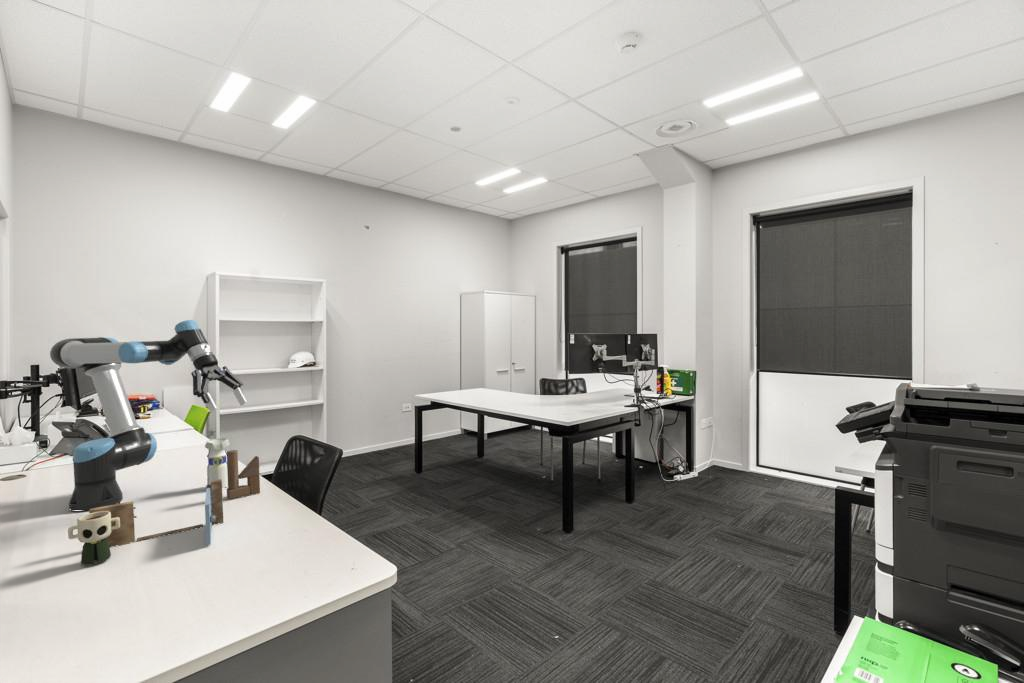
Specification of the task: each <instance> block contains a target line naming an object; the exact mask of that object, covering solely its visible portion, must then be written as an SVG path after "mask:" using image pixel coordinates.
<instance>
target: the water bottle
mask: <svg viewBox="0 0 1024 683" xmlns="http://www.w3.org/2000/svg"><path fill="white" fill-rule="evenodd" d="M216 432H217V430H213V428H211V429H210V430H208V431H206V433H208V437H209V438H210V437H211V436H212V437H215V433H216ZM229 446H230V441H229V439H228V438H227V437H221V438H220V437H219V438H218V437H217V438H212V439H209V440H206V443H205V445H204V448H205V449H206V450H207V449H208V453H207V455H206V457H207V461H208V462H207V463H208V464H207V466H206V468H207V470H206V472H207V479H206V480H207V484H206V485H211V481H213V480H219V479H221V480H222V488H225V487H227V488H228V474H227V451H226V448H227V447H229ZM225 489H226V488H225Z"/></svg>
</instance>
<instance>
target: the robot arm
mask: <svg viewBox="0 0 1024 683" xmlns="http://www.w3.org/2000/svg"><path fill="white" fill-rule="evenodd" d="M174 331H175V333H176V334H175V335H174V336H172V337H171V338H170V339H169V340H153V341H150V340H149V341H148V340H147V341H118V340H117V339H115V338H111V337H104V336H102V337H99V336H98V337H83V338H80V337H79V338H77V337H75V338H66V339H63V340H62V339H61V340H60V341H58V342H56V343H55V344H54V345H53V346H52V347H51V348H50V352H49V357H50V359H51V361H52V362H53V363H54V364H55V365H56V366H59V367H60V368H65V369H82V370H83V371H84V375H85V376H88V377H91V379H92V383H93V386H94V389H95V391H96V393H97V397H98V400H99V403H100V405H101V408H102V411H103V414H104V417H105V420H106V424H107V425H108V428H109V431H110V434H109V436H108V437H104V438H102V437H101V438H98V439H91V440H89V441H86V442H82V443H80V444H77V446H75V448H74V449H73V454H72V455H73V456H72V463H73V480H74V488H73V491H72V494H71V497H70V499H69V502H68V509H69V508H70V509H71V510H90V509H92V508H98V507H103V506H109V505H113V504H116V503H117V504H118V502H120V503H121V502H122V501H123V500H122V499H124V497H123V491H122V490H121V488H120V486H119V484H118V481H117V477H116V476H117V475H116V474H117V471H120V470H123V469H127V468H130V467H134V466H139V465H141V464H144V463H147V462H149V461H151V460H152V459H153V458H154V456H155V454H156V452H157V448H158V446H157V445H158V444H157V440H156V438H155V436H154V435H153V433H150V432H146V431H145V429H144V427H143V426H141V425H139V424H138V422H137V420H136V417H135V414H134V411H133V409H132V405H131V403H130V400H129V398H128V394H127V392H126V388H125V386H124V382H123V380H122V377H121V375H120V372H119V370H120V369H121V367H122V364H124V363H125V364H141V363H150V362H153V363H154V362H155V363H156V362H159V363H161V364H163V365H166V366H170V365H174V364H175V363H177V362H179V361H180V360H181V359H182V358H183V357H185V355H187V356H188V357H189V359H190V361H191V362H192V365H193V366H194V369H195V370H193V371H192V372H191V376H192V395H193V396H196V397H197V398H201V400H202V401H203V403H204V404H205V405H206V407H207V408H208V411H209V412H210V413H212V412H214V411H215V410H217V409H218V407H217V404H216V403H215V401H214V399H213V398H212V396H211V394H210V392H207V391H208V387H209V384H210V382H211V381H217V382H221V383H222V384H224V385H226V386H228V387H229V388H231V389H232V392H233V394H234V396H235V399H237V400H236V401H237V402H238V403H239V405H240V406H243V405H244V404H246V403H247V399H246V397H245V395H244V392H243V390H242V389H241V387H243V386H244V382H243V381H241V380H240V379H239V378H238V377H237V376H236V375H235V374H234V373H232V371H231V370H229V368H228V367H227V366H226V365H223V367H220V366H219V361H218V359H217V357H216V355H215V354H214V351H213V350H212V349H211V347H210V345H209V342H208V340H207V339H206V337H205V335H204V333H203V331H202V328H201V327H200V326H199V324H198V323H197V321H196V320H194V319H187V320H183V321H180V322H178V323H177V324H175V326H174ZM201 377H202V378H201ZM121 500H122V501H121Z"/></svg>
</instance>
